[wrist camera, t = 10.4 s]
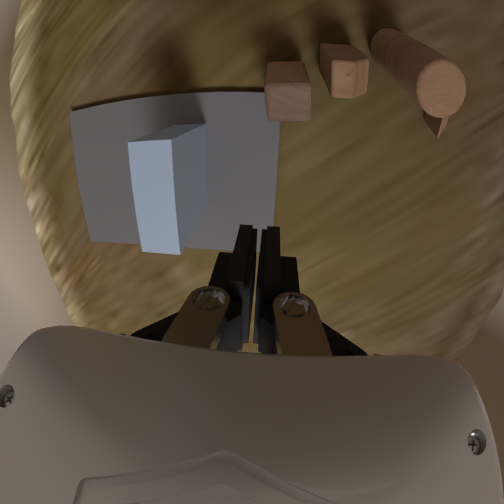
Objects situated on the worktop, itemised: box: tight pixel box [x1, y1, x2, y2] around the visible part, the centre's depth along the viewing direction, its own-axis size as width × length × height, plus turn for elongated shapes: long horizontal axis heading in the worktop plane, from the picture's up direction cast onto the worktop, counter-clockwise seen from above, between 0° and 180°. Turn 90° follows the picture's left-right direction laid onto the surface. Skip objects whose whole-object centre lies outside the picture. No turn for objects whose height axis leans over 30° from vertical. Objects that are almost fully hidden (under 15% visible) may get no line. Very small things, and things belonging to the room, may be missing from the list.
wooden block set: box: [264, 28, 466, 138], centre depth 16 cm, size 18×9×10 cm, turn 94°
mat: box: [70, 92, 280, 253], centre depth 25 cm, size 16×22×1 cm
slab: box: [128, 124, 207, 255], centre depth 21 cm, size 8×3×9 cm, turn 178°
